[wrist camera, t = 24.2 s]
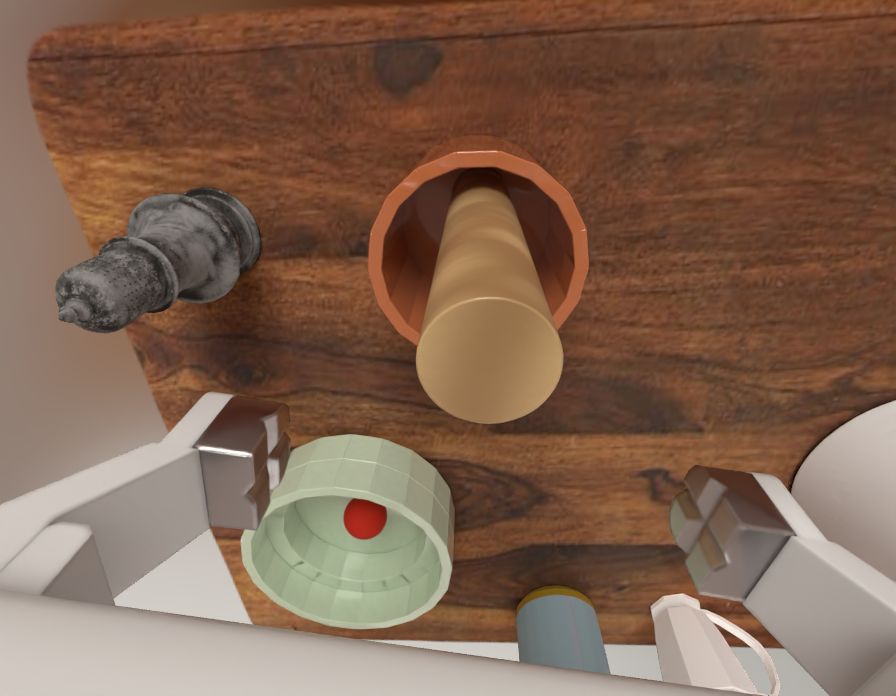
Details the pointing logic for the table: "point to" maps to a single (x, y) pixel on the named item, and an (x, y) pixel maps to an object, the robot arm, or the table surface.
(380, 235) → the crock
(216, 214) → the grey chess piece
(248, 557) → the bowl
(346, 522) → the ball
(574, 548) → the table surface
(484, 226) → the stick
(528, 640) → the bottle
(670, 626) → the cup
